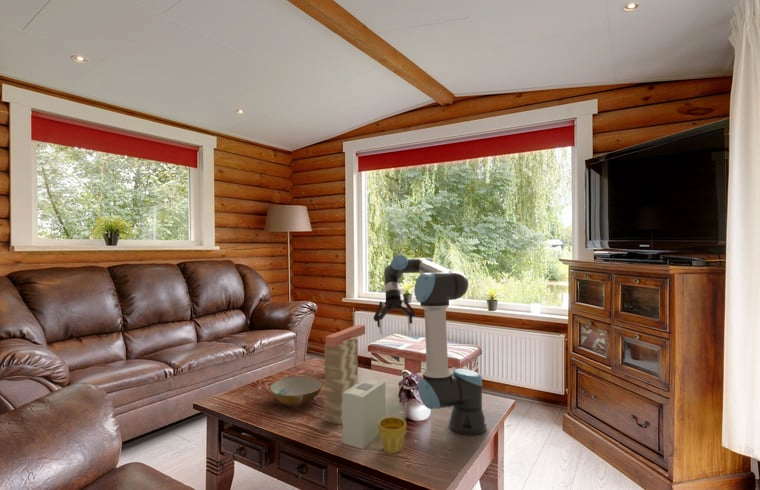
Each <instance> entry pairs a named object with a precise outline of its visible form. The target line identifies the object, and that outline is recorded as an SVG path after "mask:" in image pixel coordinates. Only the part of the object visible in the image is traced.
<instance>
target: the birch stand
mask: <svg viewBox="0 0 760 490" xmlns="http://www.w3.org/2000/svg"><path fill="white" fill-rule="evenodd" d="M358 345H359V343H358V338H357V337H353V338H350V339H348V340H345V341H343V342H342V344H340V345H337V346H335V347H329V346H326V343H324V415H323V421H326V422H329V423H333V424H336V425H340V426H341V425H343V392H345V391H346V390H348V389H350V388H351V387H353V386H355V385H356V384H358V383H359V382H358V381H359V380H358V379H359V374H358V371H359V370H358V368H359V367H358V366H359V365H358V360H359V359H358V358H359V357H358V355H359V354H358V350H359V349H358V348H359V347H358Z"/></svg>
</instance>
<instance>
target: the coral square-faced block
mask: <svg viewBox="0 0 760 490" xmlns="http://www.w3.org/2000/svg"><path fill="white" fill-rule="evenodd" d="M365 334H366V325H365V324H364V325H363V324H355V325H353V326H350V327H348V328H345V329H342V330H340V331H337V332H334V333H331V334H329V335H326V336H325V344H326V346H329V347H335V346H337V345H340V344H342V342H343V341H345V340H348V339H350V338H353V337H356V338H359V337H361V336H363V335H365Z"/></svg>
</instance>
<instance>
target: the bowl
mask: <svg viewBox="0 0 760 490" xmlns="http://www.w3.org/2000/svg"><path fill="white" fill-rule="evenodd" d="M323 383H324V382H323V381H322V380H321V379H319V378H315V377H312V376H300V375H299V376H291V377H285V378H281V379H278V380H276V381H274V382H273V383H271V385H269V387H268V388H269V391H270V393H271V395H272V396H273V398H275V400H276V401H278V402H279V403H281V404H283V405H286V406H288V407H302V406H304V405H306V404H308V403H310V402H311V401H313V400H314V399H315V398H316V397H318V395H319V393H320V391H321V390H322V388H323V386H324V384H323Z"/></svg>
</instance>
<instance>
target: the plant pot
mask: <svg viewBox="0 0 760 490" xmlns="http://www.w3.org/2000/svg"><path fill="white" fill-rule="evenodd" d="M406 433H407V422H406V421H405V420H404V418H403V419H402V418H401V417H396V416H387V417H385V418H383V419H382V420H380V421H379V435H380V438H381V443H382V447H383V450H384V451H385V453H389V454H397V453H399V452H400V451H401V450H402V447H403V441H404V437H405V435H406Z"/></svg>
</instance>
